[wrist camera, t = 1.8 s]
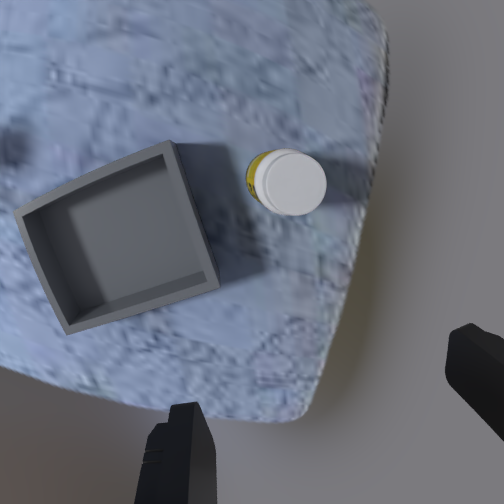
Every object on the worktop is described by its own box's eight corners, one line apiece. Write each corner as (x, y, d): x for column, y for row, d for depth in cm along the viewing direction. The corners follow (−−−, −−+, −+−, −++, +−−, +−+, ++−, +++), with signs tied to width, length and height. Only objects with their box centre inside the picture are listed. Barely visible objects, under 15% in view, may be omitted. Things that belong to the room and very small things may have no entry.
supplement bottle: (234, 185, 28) (243, 193, 19) (265, 140, 27) (287, 130, 19) (279, 215, 29) (305, 235, 21) (309, 172, 28) (346, 176, 20)
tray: (34, 204, 25) (12, 211, 22) (175, 143, 26) (169, 139, 22) (80, 316, 29) (66, 335, 25) (219, 271, 29) (220, 287, 26)
